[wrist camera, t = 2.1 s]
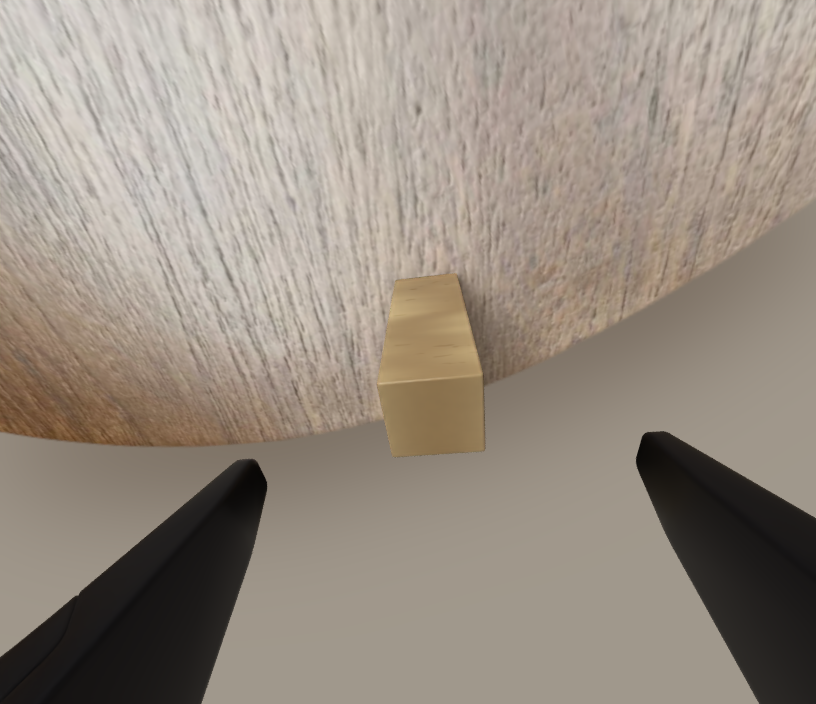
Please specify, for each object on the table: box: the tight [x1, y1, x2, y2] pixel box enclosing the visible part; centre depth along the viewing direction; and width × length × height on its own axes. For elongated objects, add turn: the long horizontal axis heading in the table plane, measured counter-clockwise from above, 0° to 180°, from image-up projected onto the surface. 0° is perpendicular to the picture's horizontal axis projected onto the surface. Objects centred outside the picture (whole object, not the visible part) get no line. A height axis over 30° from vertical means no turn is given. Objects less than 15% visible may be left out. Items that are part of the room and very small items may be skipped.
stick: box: [377, 273, 485, 457], centre depth 13 cm, size 3×3×8 cm
